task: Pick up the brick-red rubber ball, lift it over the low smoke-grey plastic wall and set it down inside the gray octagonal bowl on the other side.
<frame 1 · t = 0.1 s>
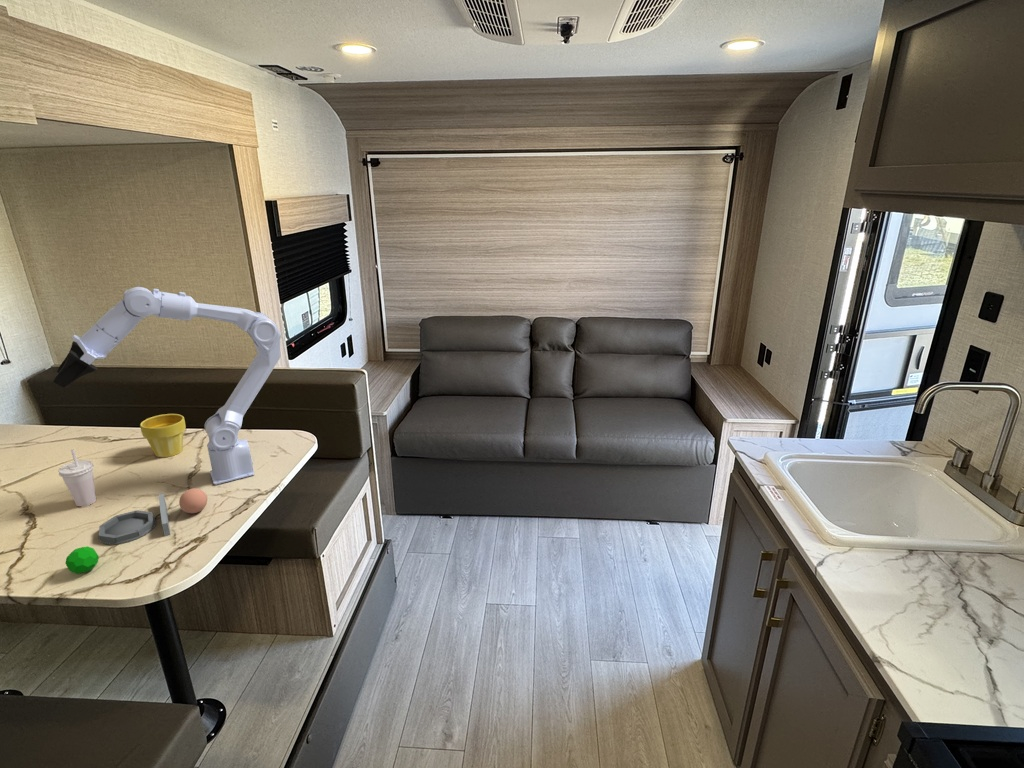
hand: (60, 379, 112), 32 cm above the table, tool tilted 50°, fingers open, 7 cm apart
plant pot: (169, 452, 150), on the table
polyhedron: (85, 570, 104), on the table
gray octagonal bowl: (128, 529, 116), on the table
low wall: (165, 519, 120), on the table
ball: (195, 511, 123), on the table
smoothie: (86, 503, 126), on the table
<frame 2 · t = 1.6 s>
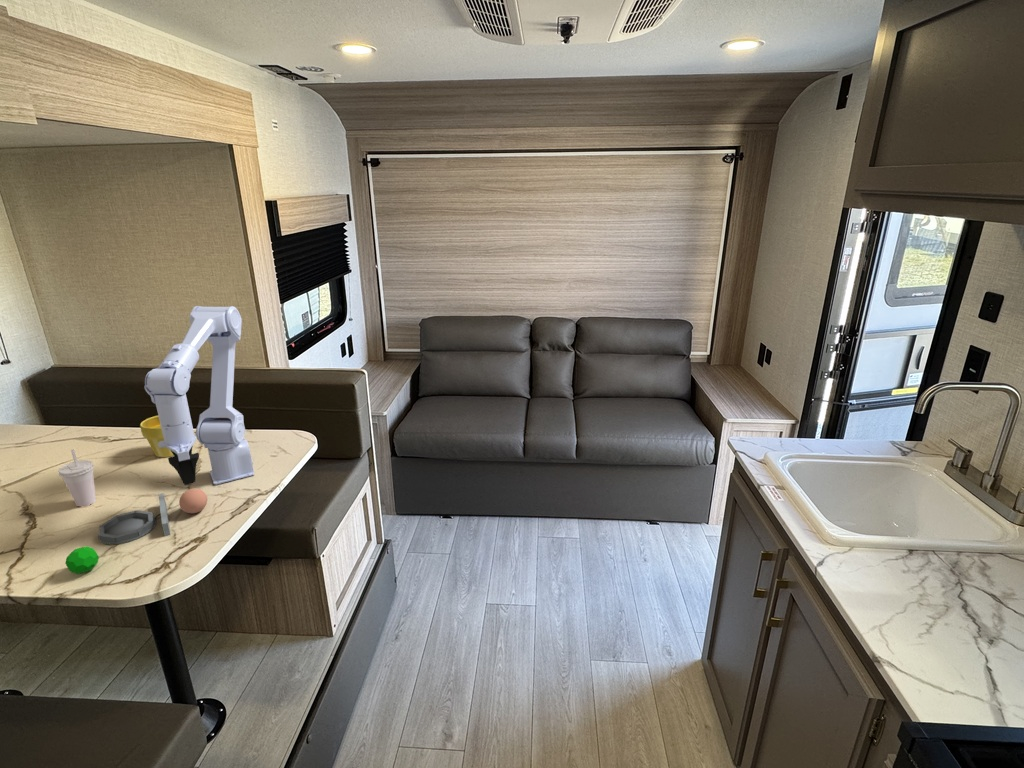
hand: (187, 475, 120), 9 cm above the table, tool pointing down, fingers open, 7 cm apart
nothing on the table moved.
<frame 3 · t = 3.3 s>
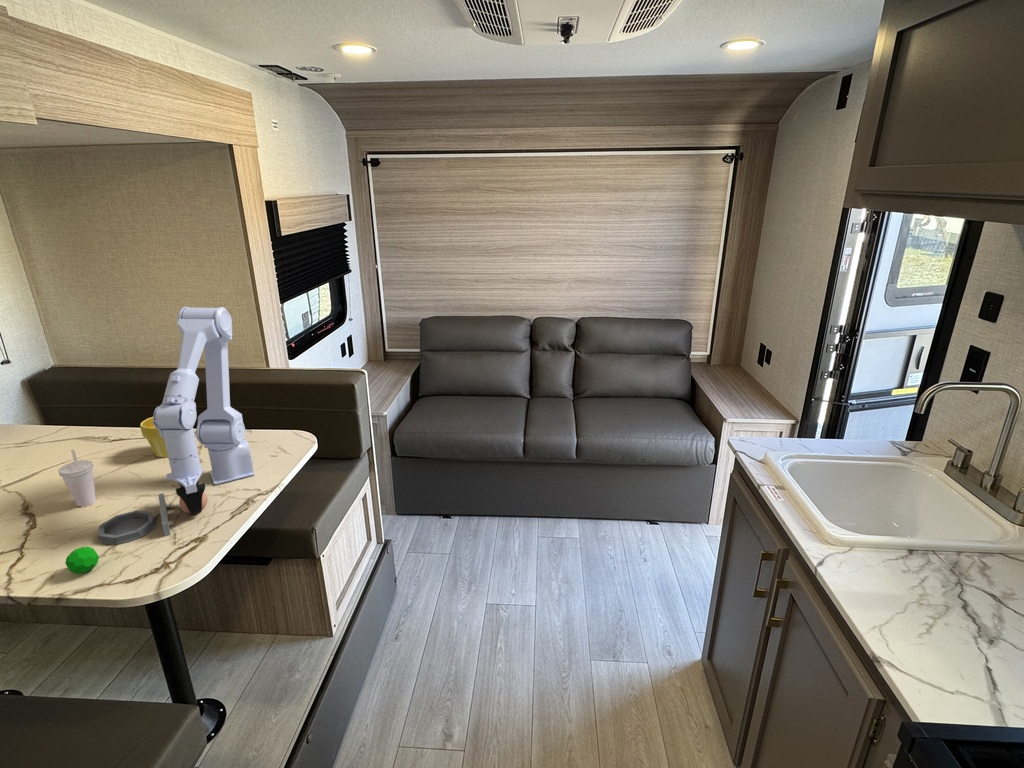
hand: (194, 506, 123), 1 cm above the table, tool pointing down, fingers closed on ball, 5 cm apart
ball: (195, 511, 123), on the table, touching gripper
everything else where it was.
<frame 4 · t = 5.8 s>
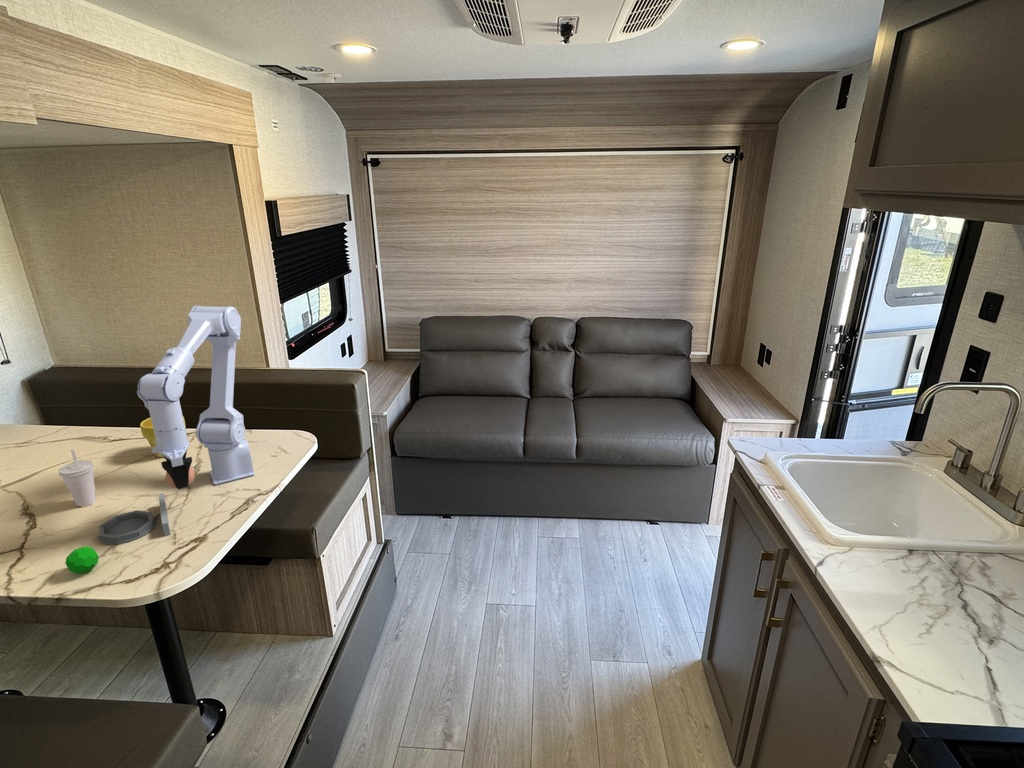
hand: (181, 481, 119), 8 cm above the table, tool pointing down, fingers closed on ball, 5 cm apart
ball: (182, 486, 120), point 7 cm above the table, touching gripper
everything else where it was.
when the fingers open (3 cm above the table, at t = 8.6 s): ball drops 1 cm, resting on gray octagonal bowl.
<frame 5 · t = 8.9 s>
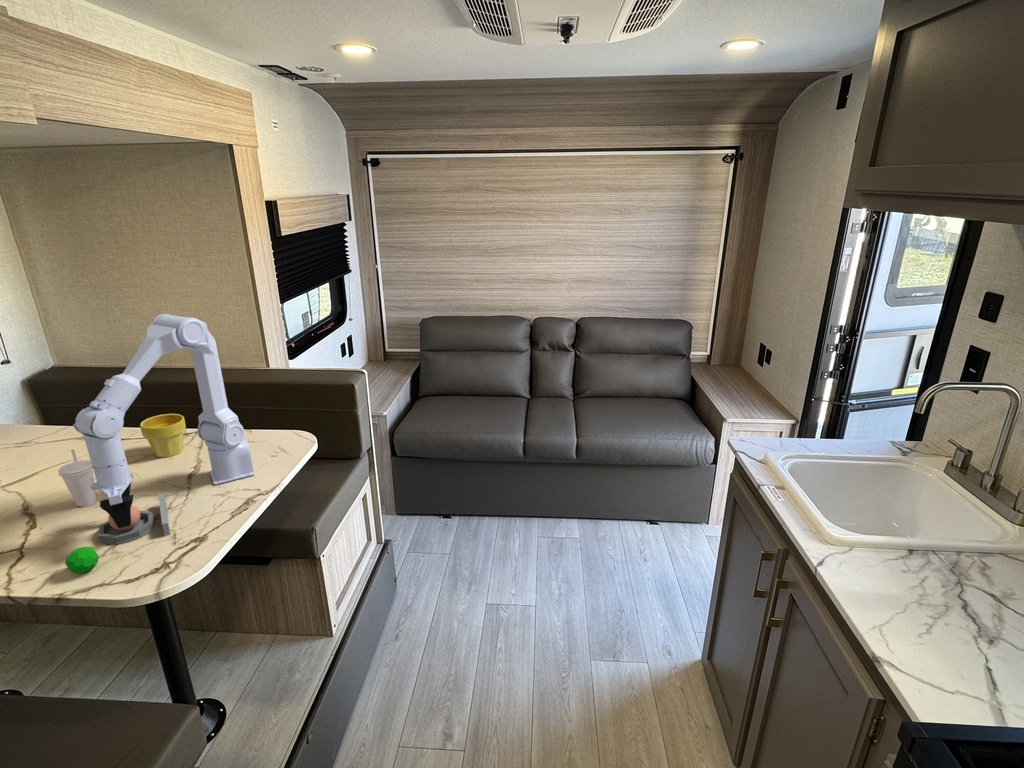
hand: (124, 517, 115), 3 cm above the table, tool pointing down, fingers open, 7 cm apart
ball: (127, 528, 116), resting on gray octagonal bowl
everything else where it was.
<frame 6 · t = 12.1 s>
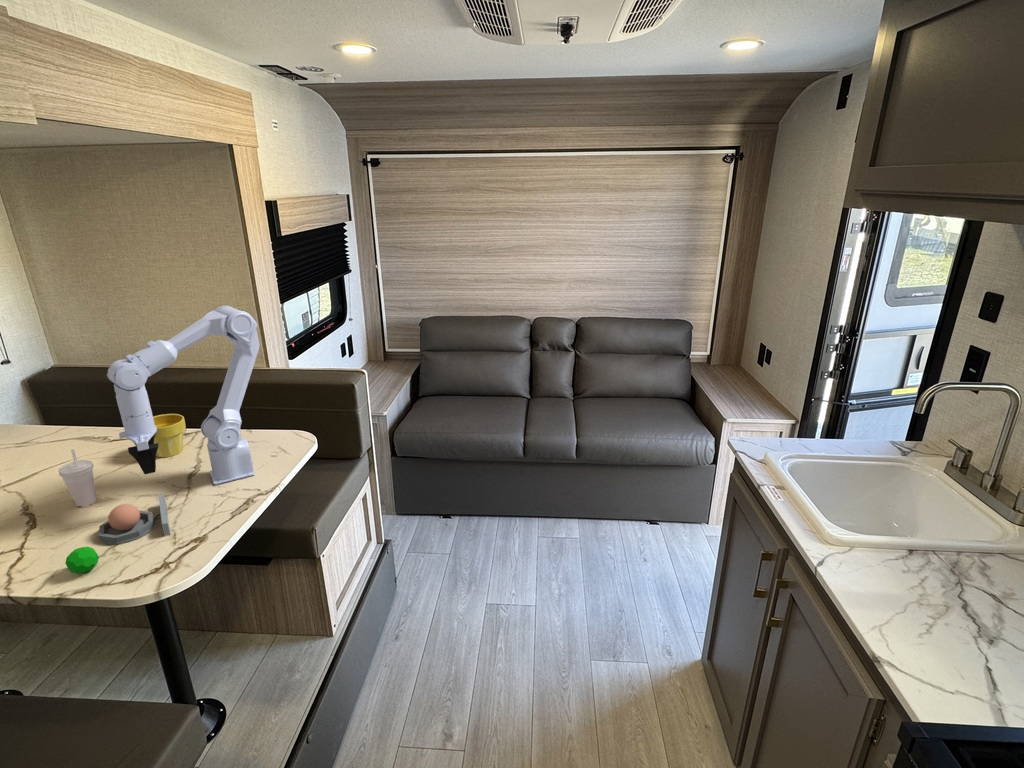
hand: (149, 465, 124), 9 cm above the table, tool pointing down, fingers open, 7 cm apart
nothing on the table moved.
at the end: ball 0.0 cm from the gray octagonal bowl (horizontally); the gripper is holding nothing; ball moved 13.0 cm from its start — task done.
